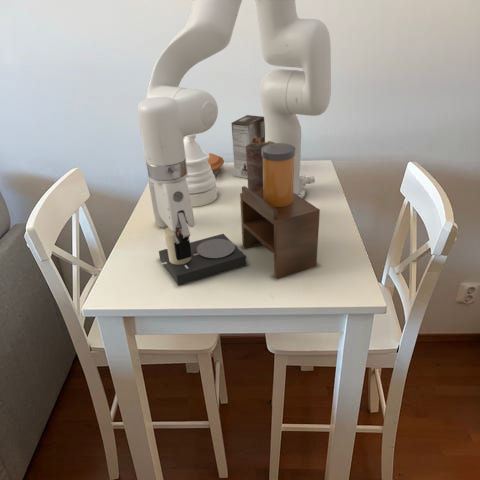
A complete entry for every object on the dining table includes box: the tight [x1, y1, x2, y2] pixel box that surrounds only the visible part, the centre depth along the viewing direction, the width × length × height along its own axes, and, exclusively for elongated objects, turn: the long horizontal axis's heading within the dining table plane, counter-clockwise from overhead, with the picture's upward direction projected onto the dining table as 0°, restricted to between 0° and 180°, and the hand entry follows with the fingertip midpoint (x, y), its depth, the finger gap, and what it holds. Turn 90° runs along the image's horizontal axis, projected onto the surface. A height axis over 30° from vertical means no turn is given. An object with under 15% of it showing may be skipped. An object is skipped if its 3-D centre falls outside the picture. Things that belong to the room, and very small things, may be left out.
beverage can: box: [148, 179, 165, 229], centre depth 117 cm, size 5×5×12 cm
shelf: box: [239, 185, 321, 280], centre depth 101 cm, size 10×16×15 cm, turn 26°
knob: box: [164, 225, 191, 265], centre depth 99 cm, size 5×5×7 cm
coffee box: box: [231, 114, 265, 179], centre depth 141 cm, size 9×6×16 cm
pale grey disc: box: [197, 239, 236, 259], centre depth 104 cm, size 9×9×1 cm
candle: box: [246, 141, 275, 190], centre depth 112 cm, size 8×7×20 cm
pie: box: [208, 152, 225, 177], centre depth 146 cm, size 15×16×5 cm
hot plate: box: [158, 233, 247, 287], centre depth 103 cm, size 18×12×3 cm
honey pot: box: [183, 134, 218, 208], centre depth 128 cm, size 13×13×18 cm
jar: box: [261, 143, 295, 207], centre depth 94 cm, size 7×7×11 cm
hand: (179, 251), depth 100 cm, fingers closed on knob, 4 cm apart
